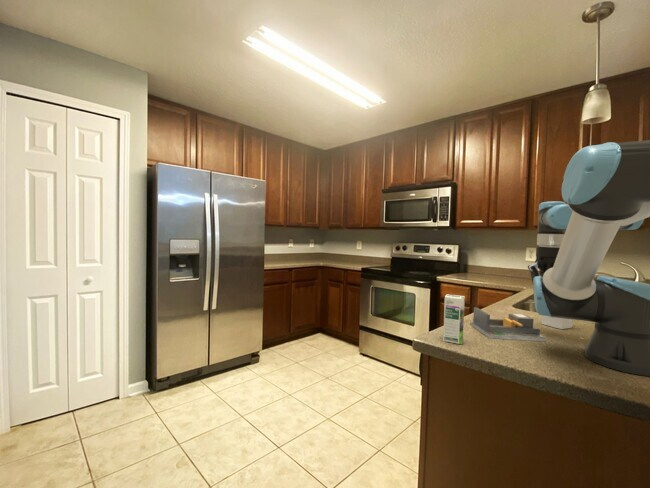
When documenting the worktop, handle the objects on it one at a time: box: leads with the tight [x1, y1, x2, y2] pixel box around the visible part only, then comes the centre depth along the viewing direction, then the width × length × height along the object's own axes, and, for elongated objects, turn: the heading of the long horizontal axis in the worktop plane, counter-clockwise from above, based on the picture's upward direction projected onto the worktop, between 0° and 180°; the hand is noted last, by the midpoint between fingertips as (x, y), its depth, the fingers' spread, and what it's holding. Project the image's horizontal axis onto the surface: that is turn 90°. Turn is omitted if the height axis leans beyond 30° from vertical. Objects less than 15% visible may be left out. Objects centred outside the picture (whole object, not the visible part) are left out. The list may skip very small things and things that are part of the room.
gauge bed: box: [469, 307, 547, 342], centre depth 104 cm, size 15×18×7 cm
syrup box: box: [442, 293, 466, 345], centre depth 94 cm, size 6×6×14 cm
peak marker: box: [503, 317, 523, 327], centre depth 101 cm, size 10×2×3 cm, turn 175°
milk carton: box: [541, 315, 573, 330], centre depth 113 cm, size 7×7×19 cm
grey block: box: [507, 313, 534, 328], centre depth 103 cm, size 6×5×5 cm
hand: (545, 313), depth 103 cm, fingers closed
